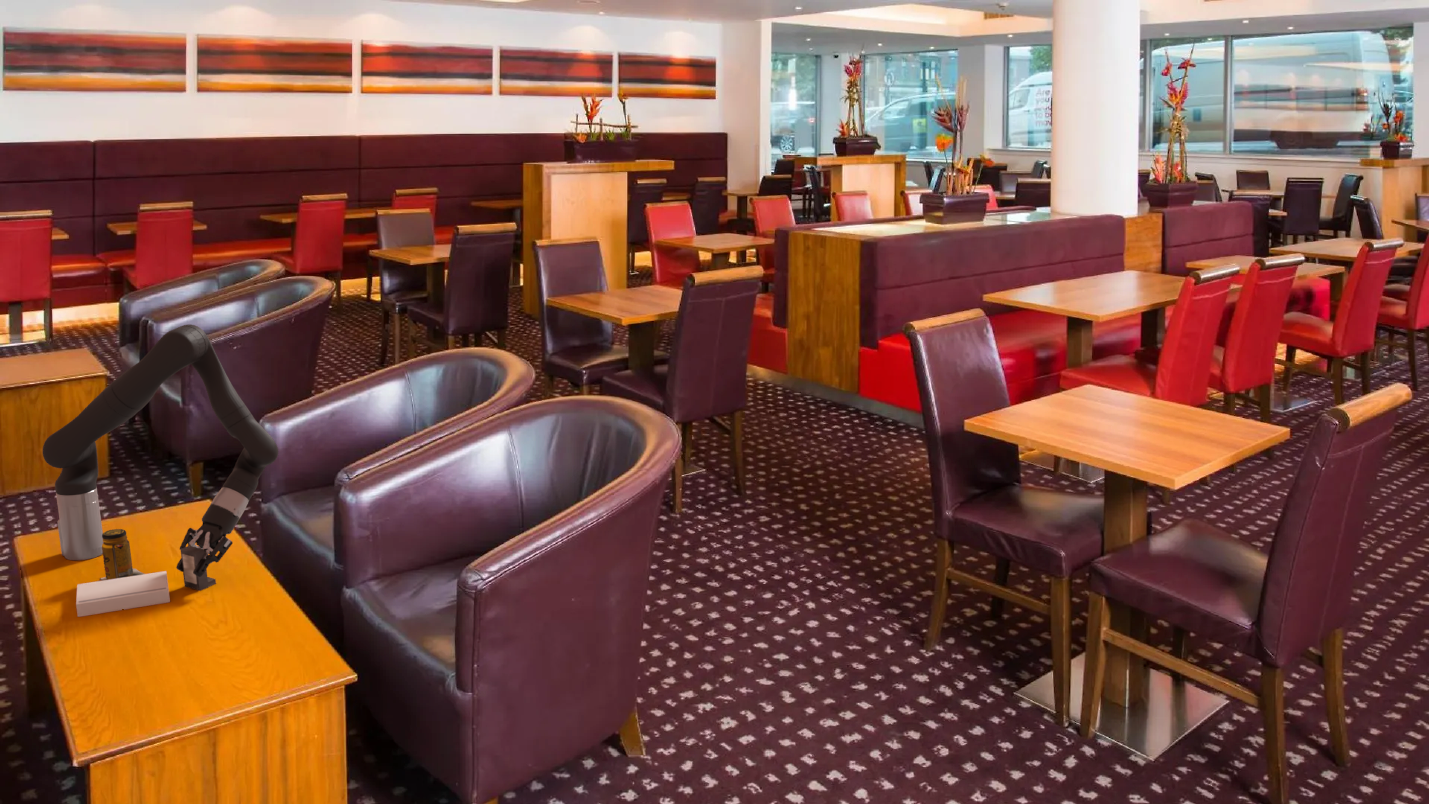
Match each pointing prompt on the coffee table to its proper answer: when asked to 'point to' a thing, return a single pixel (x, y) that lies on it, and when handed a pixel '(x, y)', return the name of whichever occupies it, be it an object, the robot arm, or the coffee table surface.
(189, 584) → the dark block with lip
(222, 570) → the coffee table surface
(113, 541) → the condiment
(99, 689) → the coffee table surface
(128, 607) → the board
